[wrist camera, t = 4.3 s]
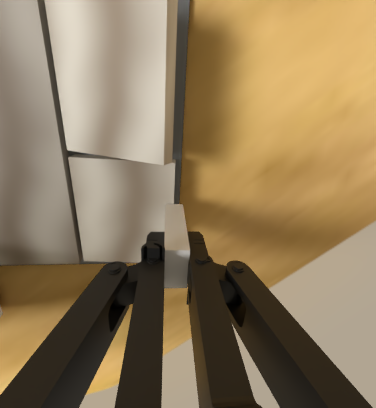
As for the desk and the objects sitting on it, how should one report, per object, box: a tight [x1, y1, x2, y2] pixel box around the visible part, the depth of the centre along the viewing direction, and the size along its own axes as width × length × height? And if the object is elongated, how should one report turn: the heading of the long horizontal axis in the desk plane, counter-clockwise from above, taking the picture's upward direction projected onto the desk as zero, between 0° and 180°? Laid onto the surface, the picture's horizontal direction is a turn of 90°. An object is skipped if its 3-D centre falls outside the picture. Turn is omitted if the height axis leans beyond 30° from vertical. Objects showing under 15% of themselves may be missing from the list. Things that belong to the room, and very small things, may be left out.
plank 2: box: [68, 154, 176, 263], centre depth 19 cm, size 8×10×1 cm
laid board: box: [0, 0, 83, 265], centre depth 16 cm, size 8×20×1 cm, turn 176°
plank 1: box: [45, 0, 178, 165], centre depth 13 cm, size 8×10×1 cm
